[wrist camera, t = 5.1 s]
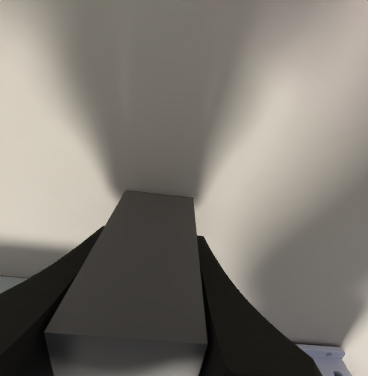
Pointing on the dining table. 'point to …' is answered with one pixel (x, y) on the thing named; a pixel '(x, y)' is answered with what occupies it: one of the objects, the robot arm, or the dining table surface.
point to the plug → (135, 296)
